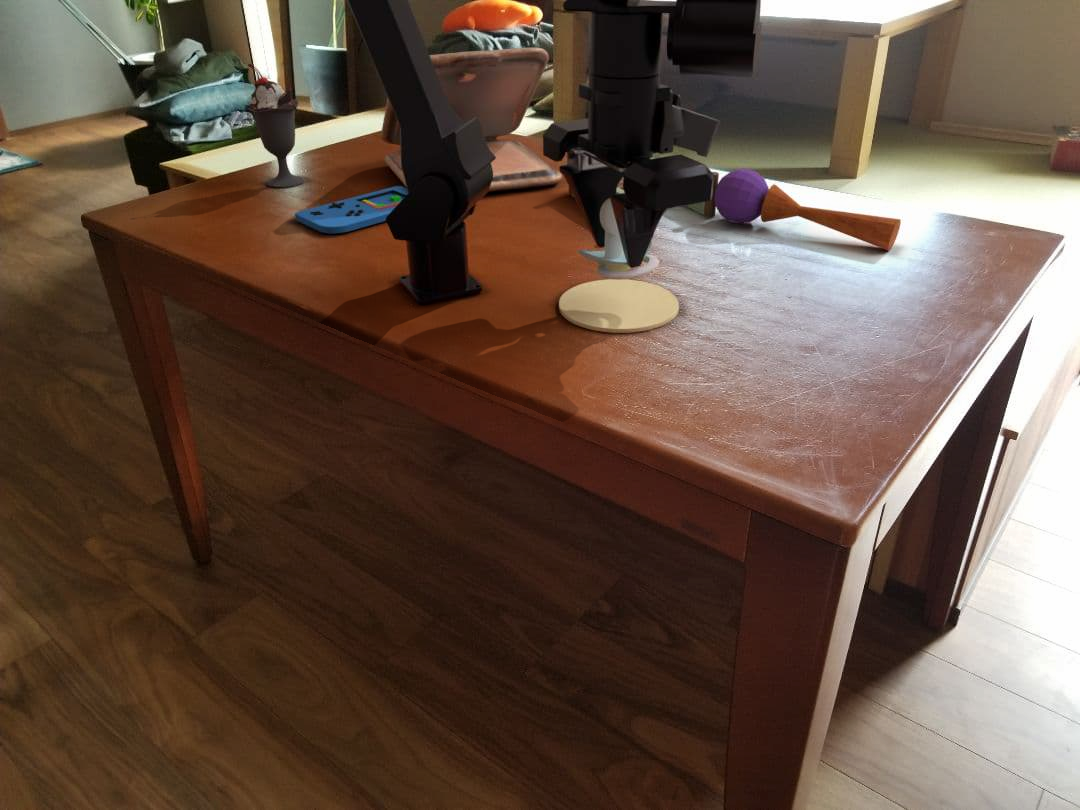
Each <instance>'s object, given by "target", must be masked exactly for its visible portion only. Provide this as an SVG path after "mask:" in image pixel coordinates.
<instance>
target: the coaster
mask: <svg viewBox="0 0 1080 810" xmlns="http://www.w3.org/2000/svg"><path fill="white" fill-rule="evenodd" d="M558 300H559V301H558V310H559V313H560V314H561V316H562V317H564V319H565V320H567V321H568V322H570V323H572V324H574V325H576V326H578V327H581V328H585V329H587V330H592V331H597V332H600V333H601V332H602V333H611V334H612V333H616V334H624V333H625V334H631V333H639V332H645V331H650V330H655V329H657V328H660V327H662V326H664V325H666V324H668V323H670V322H672V321H673V320H674V318H676V317H677V315H678V313H679V309H680V303H679V300H678V298H677V296H675V295H674V293H672V292H671V291H670V290H668V289H667V288H664V287H662V286H660V285H658V284H654V283H651V282H646V281H641V280H635V279H623V280H615V279H608V278H606V279H598V280H593V281H592V280H591V281H588V282H584V283H580V284H578V285H575V286H573V287H571V288H569V289H567V290H566V291H564V292H563V293H562V295H561V296H560V298H559V299H558Z"/></svg>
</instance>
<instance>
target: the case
mask: <svg viewBox="0 0 1080 810" xmlns="http://www.w3.org/2000/svg"><path fill="white" fill-rule="evenodd" d="M429 55H430V58H431V61H432V63H433V66H434V68H435V71H436V73H437V76H438V78H439V81H440V83H441V86H442V89H443V91H444V94H445V96H446V99H447V101H448V103H449V105H450V106H451V108H452V109H453V110H454V111H455V112H456V113H457V114H458V115H459V117H460V118H461V119H462V120H463V121H464V122H465V123H467V122H468V121H470V120H472V119H473V118H475V117H478V118H479V120H480V122H481V125H482V129H483V133H484V138H485V141H486V144H487V146H488V148H489V149H490V151H491V152H492V153H493V154H494V155H495V157H496V159H495V160H494V161H492V162H491V165H492V170H493V181H492V183H491V186H490V188H489V190H488V192H487V193H489V192H490V193H491V192H499V191H507V190H508V191H509V190H520V189H529V188H538V187H546V186H552V185H553V186H554V185H556V184H558V183H560V182H561V181H562V180H563V174H562V173H560V171H558V170H557V169H555V167H553V166H552V165H550V164H549V163H548V162H546V161H545V160H544V159H542V158H541V157H539V156H538V155H537V154H535V152H533V151H532V150H530V149H529V148H527V147H526V146H525V145H524V144H522V143H521V142H519V141H516V140H512V139H498V138H500V137H504V136H507V135H510V134H512V133H514V132H515V131H516V130H517V129H519V127H520V126H521V124H522V121H523V119H524V118H525V115H526V113H527V110H528V108H529V107H530V105H531V102H532V99H533V97H534V95H535V92H536V90H537V88H538V87H539V84H540V81H541V79H542V77H543V74H544V73H545V70H546V67H547V65H548V62H549V60H550V59H549V58H550V57H549V53H548V52H547V50H545V49H544V48H541V47H518V48H517V47H516V48H505V49H491V50H489V49H488V50H472V51H460V52H448V53H438V54H429ZM381 127H382V128H381V133H380V138H381V140H382V141H383V142H384V143H385V144H389V145H395V146H400V127H399V123H398V120H397V118H396V116H395V113H394V111H393V109H392V106H391V104H390V101H389V99H388V97H387V99H386V104H385V110H384V116H383V121H382V126H381ZM384 163H385V164H386V165H387V166H388V167H389V169H390V170H391V171H392V172H393V173H394V175H396V176H397V178H398V180H400V182H401V183H402V184H403V186H404V187H405V188H407V186H406V182H405V178H404V175H403V171H402V167H401V149H400V150H397V151H392V152H391V153H388V154H387V155H386V156H385V157H384Z"/></svg>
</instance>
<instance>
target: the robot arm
mask: <svg viewBox="0 0 1080 810" xmlns="http://www.w3.org/2000/svg"><path fill="white" fill-rule="evenodd" d="M346 1H347V4H348V6H349V9H350V11H351V14H352V16H353V19H354V20H355V23H356V25H357V27H358V30H359V31H360V34H361V37H362V39H363V42H364V44H365V46H366V49H367V52H368V54H369V56H370V58H371V62H372V63H373V65H374V68H375V70H376V73H377V76H378V78H379V80H380V83H381V85H382V87H383V89H384V92H385V94H386V97H387V98H388V99H389V101H390V104H391V106H392V109H393V111H394V113H395V116H396V118H397V120H398V123H399V127H400V145H399V146H400V147H399V148H400V150H401V167H402V171H403V175H404V178H405V182H406V186H407V187H406V186H405V187H406V188H407V190H408V194H407V195H406V196H405V197H404V198H403V199H402V201H401V202H400V203H399V204H398V205H397V206H396V207H395V208H394V209H393V210H392V211H391V212H390V214H389V215H388V216H387V217H386V221H385V222H386V224H387V226H388V229H389V230H390V234H391V235H392V237H393V239H394V240H396V241H406V242H405V244H406V254H407V255H406V256H407V263H408V272H409V274H405V275H400V276H399V277H398V282H399V284H400V285H401V286H402V287H403V288H404V289H405V290H406V291H407V293H408V294H409V295H410V296H411V297H412V298H413V300H415V301H416V303H417V304H418V305H419V304H420V305H426V304H430V303H435V302H439V301H445V300H449V299H454V298H458V297H463V296H468V295H473V294H478V293H481V292H483V285H482V284H481V283H480V282H479V281H478V280H476V279H475V278H474V277H473V275H472V274H470V270H469V268H470V267H469V255H468V254H469V253H468V239H467V225H466V222H465V220H466V219H467V218H468V217H470V216H472V215H473V214H474V213H475V210H476V206H477V204H478V203H479V202H480V201H481V200H482V199H483V198H484V197H485V195H486V194H488V193H489V192H488V190H489V188H490V186H491V183H492V181H493V170H492V165H491V162H492V161H494V160H495V159H496V157H495V155H494V154H493V153H492V152H491V151H490V149H489V148H488V146H487V144H486V141H485V138H484V133H483V129H482V125H481V122H480V120H479V118H478V117H475V118H473V119H472V120H470V121H468V122H467V123H465V122H464V121H463V120H462V119H461V118H460V117H459V115H458V114H457V113H456V112H455V111H454V110H453V109H452V108H451V106H450V105H449V103H448V101H447V99H446V96H445V94H444V91H443V89H442V86H441V83H440V81H439V78H438V76H437V73H436V71H435V68H434V66H433V63H432V61H431V58H430V55H431V54H430V53H429V51H428V48H427V46H426V43H425V40H424V38H423V36H422V32H421V30H420V28H419V25H418V22H417V20H416V18H415V15H414V12H413V10H412V7H411V4H410V2H409V0H346ZM761 5H762V0H564V2H563V4H562V8H563V10H565V11H566V12H579V13H580V12H581V13H582V12H583V13H585V12H586V13H589V26H588V27H589V31H588V34H589V38H588V39H589V40H588V82H584V83H578V98H581V99H584V100H585V101H588V106H587V107H588V112H587V113H588V115H587V118H581V119H573V120H566V121H565V120H564V121H558V122H552V123H551V124H550V125H549V126H548V128H547V129H546V130H545V131H544V133H543V134H542V155H543V156H544V157H546V158H548V159H549V160H551V161H552V162H555V163H558V162H562V161H563V159H564V157H566V164H562V165H559V167H558V170H559V172H560V173H561V175H562V176H563V177H564V179H565V182H566V183H567V185H568V188H569V187H570V189H571V191H572V193H573V195H574V197H573V198H574V199H575V201H576V203H577V205H578V207H579V210H580V211H581V215H582V216H583V218H584V221H585V222H586V225H587V228H588V229H589V232H590V234H591V236H592V238H593V240H594V242H595V245H596V246H597V248H600V249H601V248H605V230H604V228H603V227H602V225H601V222H600V210H601V207H602V205H603V203H604V202H605V201H606V200H607V199H609V198H610V200H611V204H612V208H613V212H614V216H615V219H616V223H617V227H618V231H619V235H620V239H621V243H622V247H623V251H624V255H625V258H626V261H627V264H628V266H629V267H630V269H633V268H634V269H635V268H640V267H641V265H642V263H643V259H644V256H645V254H646V251H647V249H648V247H649V244H650V242H651V243H652V240H653V237H654V234H655V232H656V230H657V228H658V226H659V223H660V221H661V219H662V217H663V216H664V214H665V212H666V211H667V210H669V209H674V208H679V207H684V206H685V205H691V204H696V203H701V202H707V201H711V199H712V193H713V182H714V174H713V173H712V172H713V171H712V170H711V169H710V168H709V166H707V165H706V164H705V163H702V162H700V161H698V160H695V159H693V158H691V157H688V156H686V155H683V154H681V153H680V154H673V155H669V156H663V157H662V156H661V157H656V158H655V157H654V154H660V155H664V154H665V155H666V154H671V153H674V146H675V147H678V148H681V149H685V150H689V151H692V152H695V153H696V154H697V155H698V156H701V157H704V158H707V157H708V155H709V152H710V150H711V147H712V144H713V142H714V139H715V136H716V133H717V130H718V128H719V125H720V123H721V121H720V120H719V119H716V118H713V117H710V116H707V115H705V114H702V113H699V112H696V111H692V110H690V109H687V108H684V107H682V96H681V95H680V94H678V93H674V92H673V91H672V89H671V86H668V85H666V84H662V83H661V71H662V70H661V69H662V50H663V31H664V15H665V14H668V23H667V33H666V57H667V60H668V61H669V62H671V63H672V66H678V69H679V73H680V75H682V76H683V75H684V76H702V77H704V76H705V77H733V78H752V79H753V78H755V76H756V70H757V64H758V61H759V60H758V58H759V53H760V46H761V45H760V44H761V37H762V35H761V34H762V29H763V28H762V27H763V22H761V21H760V19H761V8H762V7H761ZM650 158H654V159H650ZM621 181H622V190H624V192H625V193H620V194H616V189H617V187H618V186H619V184H620V182H621ZM685 207H686V206H685Z"/></svg>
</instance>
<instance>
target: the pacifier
mask: <svg viewBox="0 0 1080 810" xmlns="http://www.w3.org/2000/svg"><path fill="white" fill-rule="evenodd" d="M600 222H601V225H602V227H603V228H604V230H605V247H604V250H602V251H600V250H587V249H577V253H578V254H579V255H580V256H581V257H584V258H586V259H588V260H590V261H593V262H595V263H597V266H598V267H597V273H598V276H601V277H602V278H605V279H615V280H623V279H627V280H633V279H635V278H640V277H642V276H646V275H648V274H651V273H652V272H653V271H654V270H656V269H657V268H658V266H659V265H660V260H659V259H658V257H656V256H654V255H652V254H649V253H650V252H651V249H652V241H651V242H650V244H649V247H648V249H647V251H646V254H645V256H644V259H643V261H642V263H643V262H644V263H646V264H644V265H642V266H639V267H636V268H634V269H633V268H632V269H631V268H630V267H629V266H628V264H627V261H626V258H625V255H624V251H623V247H622V243H621V239H620V235H619V231H618V227H617V223H616V219H615V216H614V212H613V208H612V204H611V200H610V198H609V199H607V200H606V201H605V202H604V203H603V205H602V207H601V210H600Z"/></svg>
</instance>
